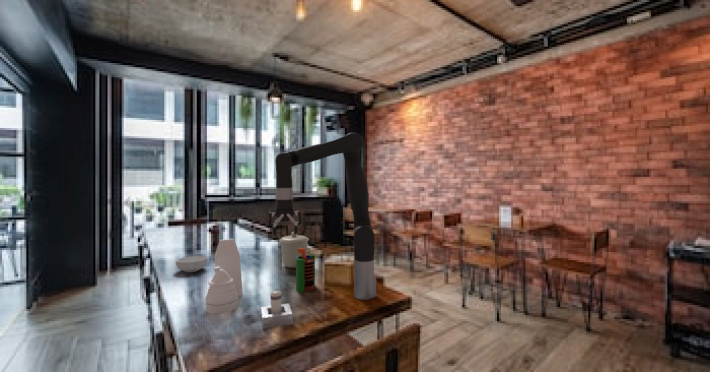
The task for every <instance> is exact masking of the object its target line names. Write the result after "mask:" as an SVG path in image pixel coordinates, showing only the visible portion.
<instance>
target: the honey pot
mask: <svg viewBox="0 0 710 372" xmlns="http://www.w3.org/2000/svg"><path fill="white" fill-rule="evenodd" d="M213 271H214V275H213V276H212V279H210V280H209V281H208V286H209V287H208V288H207V293H206V296H205V299H204V301H205V303H204V305H205V312H206V313H208V314H211V313H214V314H213V315H219V314H220V313H221V314H226V313H229V311H230V312H233V311H234V310H236V309H237V308H238V306H239V305H238V303H239V302H238V296H237V292H236V289H235V286H234V285H233V283H232V282H233V279H232V278H230V276H229V275H228V273H227V272H226V271H225V270H223V269H220V267H215V266H214V267H213ZM215 272H216V273H215ZM225 312H226V313H225ZM221 314H220V315H221Z"/></svg>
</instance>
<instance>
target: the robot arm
mask: <svg viewBox="0 0 710 372" xmlns="http://www.w3.org/2000/svg"><path fill="white" fill-rule="evenodd" d="M363 146H364V138H363V137H362V135H360V134H359V133H357V132H349V133H347V134H345V135H343V136H341V137H338V138H336V139H333V140H330V141H325V142H321V143H316V144H313V145H308V146H303V147H300V148H297V149H295V150H291V151H287V152H286V151H283V152H279V153H278V154H277V155H276V156H275V158H274V159H275V161H274V163H275V175H276V176H275V177H276V178H275V197H274V198H275V211H273V212H272V211H268V220H267V221H268V223H267V225H268V226H269V227H271V228H272V234H273V235H274V237H275V236H277V225H278V224H279V223H280V222H283V223H284V222H290V221H291V223H292V224H293V232H294V235H295V234H296V233H297V234H298V226H299V225H302V224H303V223H302V222H303V221H302V211H300V210H296V211H295V210H294V191H293V177H292V175H293V173H292V172H293V171H292V170H293V168H292V167H296V166H298V165H304V164H309V163H312V162H316V161H318V160H322V159H325V158H328V157H331V156H334V155H339V154H342V155H343V158H344V163H345V164H344V165H345V177H346V186H347V194H348V195H347V196H348V200H349V205H350V208H351V211H352V216H353V265H354V266H353V270H354V271H353V274H354V275H353V276H354V277H353V279H354V282H353V283H354V286H353V287H354V288H353V289H354V291H353V292H354V298H356V299H358V300H366V301H367V300H371V299H374V298H376V297H377V277H376V275H375V247H376V245H375V241H376V240H375V232H374V230H373V227H372V222H371V220H370V214H369V188H368V182H367V181H368V180H367V177H366V175H365V171H364V168H363V166H362V160H361V150H362V148H363ZM294 215H295V217H296V216H297V221H296V220H295V219H294V218H293V217H294ZM274 216H276V219H275V220H274V222H272V218H273V217H274Z"/></svg>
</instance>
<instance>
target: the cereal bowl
mask: <svg viewBox="0 0 710 372" xmlns="http://www.w3.org/2000/svg"><path fill="white" fill-rule="evenodd" d="M175 260H176V261H175V262H176V263H175V265H176V267H177V269H179V271H184V272H185V273H195V272H198V271H200V270H202V269H203V268H205V267H206V266H207V263H208V257H207V256H204V255H193V256H185V257H181V258H178V259H175Z"/></svg>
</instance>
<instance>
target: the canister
mask: <svg viewBox="0 0 710 372" xmlns="http://www.w3.org/2000/svg"><path fill="white" fill-rule="evenodd" d="M309 240H310V237H309V238H308V237H307V236H305V235H298V232H297V233H296V234H295V235H294V231H292V232H291V233H290V235H286V236H282V237H281V238H279V240H278V241H279V244H280V252H281V259H282V264H283V266H284V267H286V268H290V269H296V257H297V256H301V255H302V254H301V253H298V249H299V248H304V249H305V252H306V255H308V254H307V253H308V244H309V243H308V242H309Z"/></svg>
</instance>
